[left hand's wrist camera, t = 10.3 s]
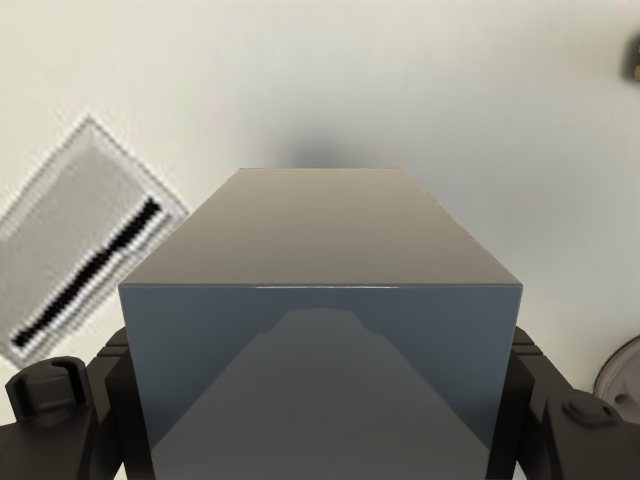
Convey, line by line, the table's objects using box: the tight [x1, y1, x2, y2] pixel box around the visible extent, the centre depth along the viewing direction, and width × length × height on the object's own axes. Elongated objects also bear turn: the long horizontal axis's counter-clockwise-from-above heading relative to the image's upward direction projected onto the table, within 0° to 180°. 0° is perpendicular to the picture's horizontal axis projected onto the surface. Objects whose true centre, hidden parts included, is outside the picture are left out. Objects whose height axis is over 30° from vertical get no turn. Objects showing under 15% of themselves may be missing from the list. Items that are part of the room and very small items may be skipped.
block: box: [118, 168, 523, 480], centre depth 13 cm, size 7×7×11 cm
